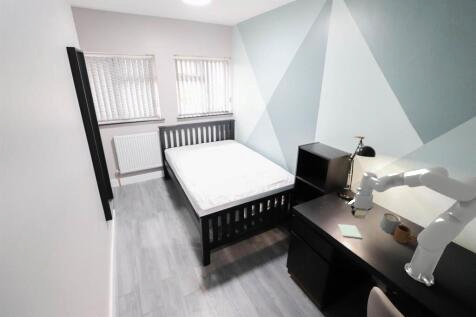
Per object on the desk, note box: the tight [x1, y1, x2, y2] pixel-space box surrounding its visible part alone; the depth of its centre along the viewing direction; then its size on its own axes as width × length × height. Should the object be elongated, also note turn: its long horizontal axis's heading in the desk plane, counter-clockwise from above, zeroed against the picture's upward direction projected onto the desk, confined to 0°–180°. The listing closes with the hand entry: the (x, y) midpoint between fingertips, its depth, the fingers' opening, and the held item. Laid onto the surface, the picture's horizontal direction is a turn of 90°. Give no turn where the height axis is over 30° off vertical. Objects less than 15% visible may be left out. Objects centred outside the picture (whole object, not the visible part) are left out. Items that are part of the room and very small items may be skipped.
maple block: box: [353, 208, 368, 220], centre depth 142 cm, size 6×6×6 cm
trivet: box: [337, 223, 363, 239], centre depth 151 cm, size 12×12×1 cm
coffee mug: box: [379, 212, 406, 234], centre depth 152 cm, size 13×10×10 cm
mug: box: [393, 224, 417, 245], centre depth 140 cm, size 12×8×9 cm, turn 18°
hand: (358, 214), depth 143 cm, fingers closed on maple block, 6 cm apart
